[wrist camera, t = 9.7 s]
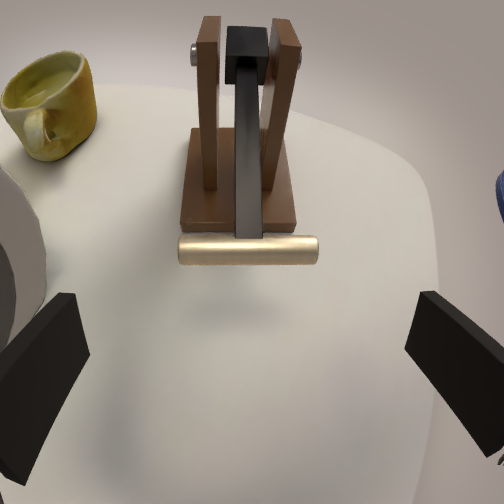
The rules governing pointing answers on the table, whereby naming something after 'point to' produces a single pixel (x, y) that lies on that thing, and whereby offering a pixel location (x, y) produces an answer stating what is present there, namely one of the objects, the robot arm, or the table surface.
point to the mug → (51, 105)
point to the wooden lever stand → (222, 139)
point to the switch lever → (247, 172)
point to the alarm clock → (19, 260)
